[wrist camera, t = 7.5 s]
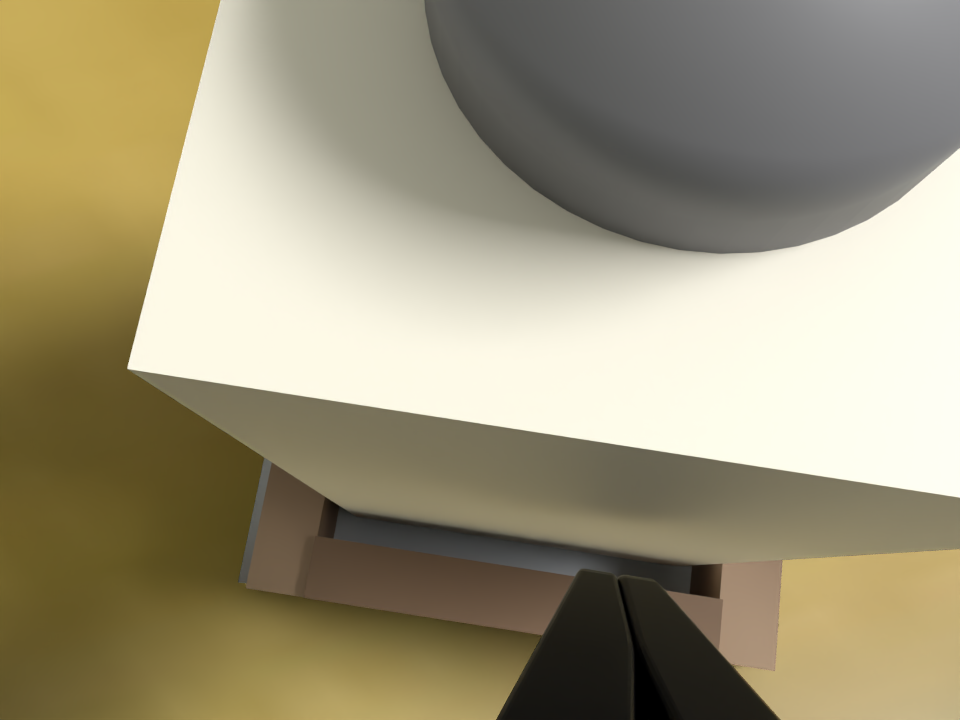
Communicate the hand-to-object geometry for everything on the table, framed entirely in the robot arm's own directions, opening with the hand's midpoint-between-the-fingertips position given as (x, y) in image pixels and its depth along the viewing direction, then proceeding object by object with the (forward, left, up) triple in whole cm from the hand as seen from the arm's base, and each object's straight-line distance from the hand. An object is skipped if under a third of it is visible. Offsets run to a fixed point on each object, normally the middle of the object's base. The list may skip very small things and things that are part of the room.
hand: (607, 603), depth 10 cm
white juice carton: (+3, +2, -7) cm, 8 cm away
